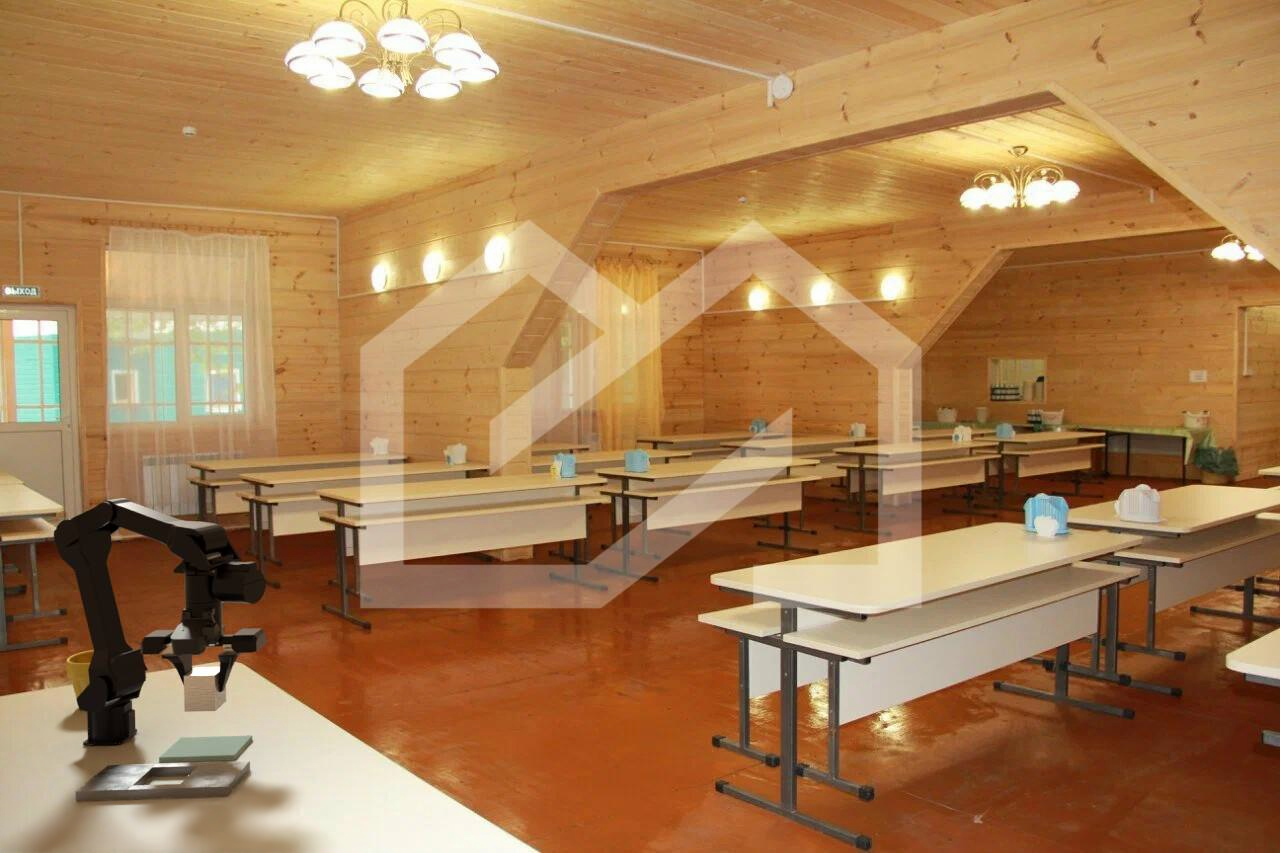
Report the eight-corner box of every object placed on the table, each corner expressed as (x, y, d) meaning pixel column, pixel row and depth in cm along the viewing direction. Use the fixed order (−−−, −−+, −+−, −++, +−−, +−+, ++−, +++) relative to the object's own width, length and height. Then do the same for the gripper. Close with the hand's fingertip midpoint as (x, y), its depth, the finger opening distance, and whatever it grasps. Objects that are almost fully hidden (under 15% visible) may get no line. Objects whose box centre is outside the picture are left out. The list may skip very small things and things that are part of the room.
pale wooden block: (184, 711, 160) (183, 676, 160) (196, 701, 165) (195, 667, 165) (215, 711, 160) (214, 675, 160) (226, 701, 165) (225, 666, 165)
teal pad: (159, 762, 158) (159, 757, 158) (181, 742, 167) (181, 737, 167) (234, 759, 159) (234, 755, 159) (252, 740, 168) (252, 735, 168)
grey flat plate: (75, 801, 143) (75, 791, 143) (108, 774, 153) (107, 765, 153) (227, 796, 145) (227, 786, 145) (250, 769, 155) (249, 760, 154)
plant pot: (110, 714, 181) (108, 663, 181) (55, 714, 182) (54, 663, 181) (139, 696, 192) (138, 648, 191) (87, 696, 192) (86, 648, 191)
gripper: (124, 612, 153) (126, 708, 154) (244, 610, 154) (246, 706, 155) (154, 596, 164) (156, 687, 165) (266, 595, 166) (267, 684, 166)
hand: (205, 691), depth 162 cm, fingers closed on pale wooden block, 5 cm apart
